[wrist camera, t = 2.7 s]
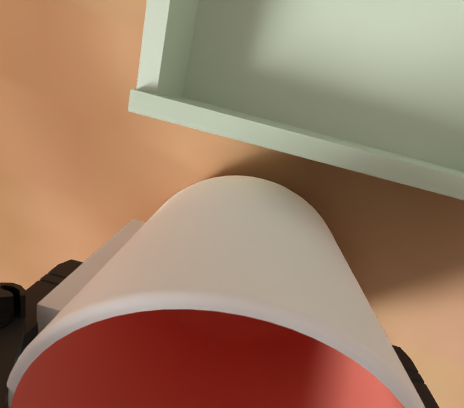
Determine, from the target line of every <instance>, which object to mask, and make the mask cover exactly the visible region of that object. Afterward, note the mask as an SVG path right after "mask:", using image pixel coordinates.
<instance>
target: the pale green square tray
mask: <svg viewBox="0 0 464 408" xmlns="http://www.w3.org/2000/svg"><path fill="white" fill-rule="evenodd" d="M128 111H129V112H133V113H137V114H141V115H144V116H148V117H152V118H156V119H160V120H163V121H167V122H171V123H175V124H178V125H182V126H186V127H190V128H193V129H197V130H201V131H205V132H209V133H212V134H216V135H220V136H224V137H227V138H231V139H235V140H239V141H242V142H246V143H250V144H254V145H258V146H261V147H265V148H269V149H273V150H276V151H280V152H284V153H288V154H291V155H295V156H299V157H303V158H306V159H310V160H314V161H318V162H322V163H325V164H329V165H333V166H337V167H340V168H344V169H348V170H352V171H355V172H359V173H363V174H367V175H371V176H374V177H378V178H382V179H386V180H389V181H393V182H397V183H401V184H404V185H408V186H412V187H416V188H420V189H423V190H427V191H431V192H435V193H438V194H442V195H446V196H450V197H453V198H457V199H461V200H464V0H147V5H146V14H145V22H144V30H143V38H142V47H141V55H140V63H139V72H138V80H137V88H136V89H131V90H130V99H129V107H128Z"/></svg>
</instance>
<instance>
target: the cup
mask: <svg viewBox="0 0 464 408" xmlns="http://www.w3.org/2000/svg"><path fill="white" fill-rule="evenodd" d="M7 387H8V405H9V408H425V406H424V405H423V403H422V401H421V399H420V397H419V395H418V393H417V392H416V390H415V388H414V386H413V384H412V382H411V380H410V379H409V377H408V375H407V373H406V371H405V369H404V367H403V366H402V364H401V362H400V360H399V358H398V356H397V354H396V353H395V351H394V349H393V347H392V345H391V343H390V341H389V340H388V338H387V336H386V334H385V332H384V330H383V328H382V327H381V325H380V323H379V321H378V319H377V317H376V315H375V314H374V312H373V310H372V308H371V306H370V304H369V302H368V301H367V299H366V297H365V295H364V293H363V291H362V289H361V288H360V286H359V284H358V282H357V280H356V278H355V276H354V275H353V273H352V271H351V269H350V267H349V265H348V263H347V262H346V260H345V258H344V256H343V254H342V252H341V250H340V248H339V247H338V245H337V243H336V241H335V239H334V237H333V235H332V233H331V232H330V230H329V228H328V226H327V225H326V223H325V222H324V220H323V219H322V217H321V216H320V215H319V213H318V212H317V211H316V210H315V209H314V208H313V207H312V206H311V205H310V204H309V203H308V202H307V201H305V200H304V199H303V198H302V197H300V196H299V195H297V194H296V193H294V192H292V191H291V190H289V189H287V188H286V187H284V186H281V185H279V184H277V183H274V182H271V181H268V180H265V179H261V178H256V177H251V176H239V175H237V176H221V177H214V178H210V179H207V180H203V181H200V182H198V183H195V184H193V185H190V186H188V187H187V188H185V189H183V190H181V191H179V192H178V193H177V194H175V195H174V196H172V197H171V198H170V199H169V200H168V201H166V202H165V203H164V204H163V205H162V206H161V208H160V209H159V210H158V211H157V212H156V213H155V214H154V215H153V216H152V217H151V218H150V219H149V220H148V221H147V222H146V223H145V224H144V225H143V226H142V227H141V228H140V229H139V230H138V231H137V232H136V233H135V234H134V235H133V236H132V238H131V239H130V240H129V241H128V242H127V243H126V244H125V245H124V246H123V247H122V248H121V249H120V250H119V251H118V252H117V253H116V254H115V255H114V256H113V257H112V258H111V259H110V260H109V261H108V262H107V263H106V265H105V266H104V267H103V268H102V269H101V270H100V271H99V272H98V273H97V274H96V275H95V276H94V277H93V278H92V279H91V280H90V281H89V282H88V283H87V284H86V285H85V286H84V287H83V288H82V290H81V291H80V292H79V293H78V294H77V295H76V296H75V297H74V298H73V299H72V300H71V301H70V302H69V303H68V304H67V305H66V306H65V307H64V308H63V309H62V310H61V311H60V312H59V313H58V314H57V316H56V317H55V318H54V319H53V320H52V321H51V322H50V323H49V324H48V325H47V326H46V327H45V328H44V329H43V330H42V331H41V332H40V333H39V334H38V335H37V336H36V337H35V338H34V339H33V340H32V341H31V343H30V344H29V345H28V346H27V347H26V348H25V350H24V351H23V352H22V354H21V355H20V356H19V358H18V360H17V362H16V364H15V365H14V367H13V369H12V371H11V373H10V375H9V378H8V381H7Z"/></svg>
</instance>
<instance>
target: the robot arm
mask: <svg viewBox="0 0 464 408" xmlns="http://www.w3.org/2000/svg"><path fill="white" fill-rule="evenodd" d="M145 223H146V222H143V221H140V220H136V219H131V220H130V221H129V222H128V223H127V224H126V225H125V226H124V227H122V228H121V229H120V230H119V231H118V232H117V233H116V234H115V235H114V236H112V237H111V238H110V239H109V240H108V241H107V242H106V243H105V244H103V245H102V246H101V247H100V248H99V249H98V250H97V251H96V252H95V253H93V254H92V255H91V256H90V257H89V258H88V259H87V260H86V261H85V262H79V261H75V260H69V261H66V262H64V263H61V264H59V265H57V266H56V267H55V268H53V269H52V270H51V271H50V272H48V274H46V275H45V276H43V277H42V278H41V279H40V281H37V282H36V283H35V284H33V285H32V286H31V287H30V288H28V289H27V290H26V291H25V289H24V288H23V287H22V286H21V285H17V284H14V283H0V408H9V405H8V387H7V381H8V378H9V375H10V373H11V371H12V369H13V367H14V365H15V364H16V362H17V360H18V358H19V356H20V355H21V354H22V352H23V351H24V350H25V348H26V347H27V346H28V345H29V344H30V343H31V341H32V340H33V339H34V338H35V337H36V336H37V335H38V334H39V333H40V332H41V331H42V330H43V329H44V328H45V327H46V326H47V325H48V324H49V323H50V322H51V321H52V320H53V319H54V318H55V317H56V316H57V314H58V313H59V312H60V311H61V310H62V309H63V308H64V307H65V306H66V305H67V304H68V303H69V302H70V301H71V300H72V299H73V298H74V297H75V296H76V295H77V294H78V293H79V292H80V291H81V290H82V288H83V287H84V286H85V285H86V284H87V283H88V282H89V281H90V280H91V279H92V278H93V277H94V276H95V275H96V274H97V273H98V272H99V271H100V270H101V269H102V268H103V267H104V266H105V265H106V263H107V262H108V261H109V260H110V259H111V258H112V257H113V256H114V255H115V254H116V253H117V252H118V251H119V250H120V249H121V248H122V247H123V246H124V245H125V244H126V243H127V242H128V241H129V240H130V239H131V238H132V236H133V235H134V234H135V233H136V232H137V231H138V230H139V229H140V228H141V227H142V226H143V225H144V224H145ZM358 284H359V283H358ZM359 286H360V285H359ZM360 288H361V287H360ZM365 297H366V296H365ZM366 299H367V298H366ZM367 301H368V300H367ZM372 310H373V309H372ZM373 312H374V311H373ZM374 314H375V313H374ZM379 323H380V322H379ZM380 325H381V324H380ZM381 327H382V326H381ZM386 336H387V335H386ZM387 338H388V337H387ZM388 340H389V339H388ZM392 347H393V349H394V351H395V353H396V354H397V356H398V358H399V360H400V362H401V364H402V366H403V367H404V369H405V371H406V373H407V375H408V377H409V379H410V380H411V382H412V384H413V386H414V388H415V390H416V392H417V393H418V395H419V397H420V399H421V401H422V403H423V405H424V406H425V408H439V406H438V405H437V403H436V401H435V399H434V398H433V396H432V394H431V393H430V391H429V389H428V387H427V386H426V384H424V381H423V379H422V377H421V375H420V374H418V370H417V369H416V367H415V365H414V364H413V362H412V360H411V359H410V358H409V357H408V355H407V354H406V353H405V352H404V351H403V350H402V349H401V348H400V347H397V346H393V345H392Z"/></svg>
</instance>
